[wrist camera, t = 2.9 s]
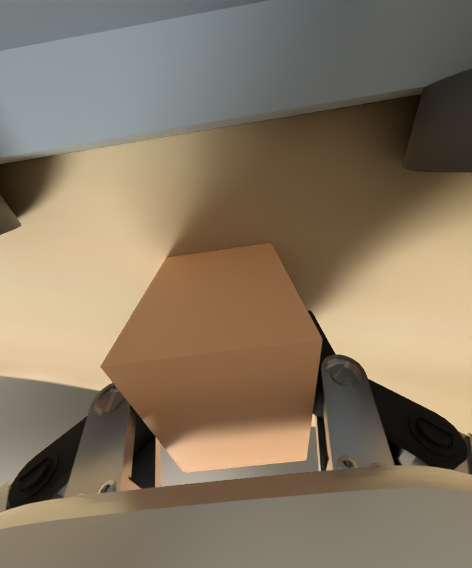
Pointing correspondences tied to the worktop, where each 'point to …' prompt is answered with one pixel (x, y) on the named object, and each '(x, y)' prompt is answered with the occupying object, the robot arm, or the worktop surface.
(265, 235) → the worktop surface
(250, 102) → the chassis
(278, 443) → the block
